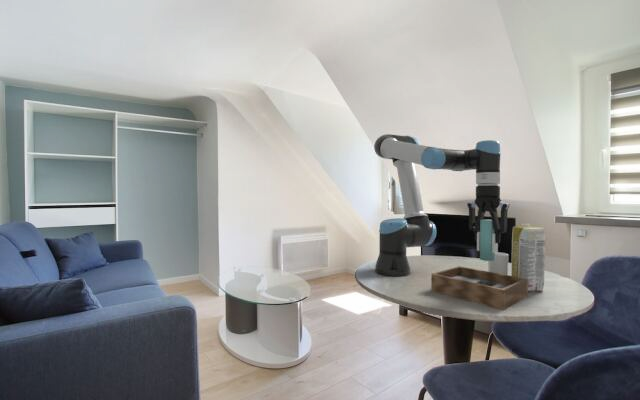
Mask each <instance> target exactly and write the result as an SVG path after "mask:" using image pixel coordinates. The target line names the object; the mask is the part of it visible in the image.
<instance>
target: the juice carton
mask: <svg viewBox="0 0 640 400" xmlns="http://www.w3.org/2000/svg"><path fill="white" fill-rule="evenodd" d="M545 230H546V229H545V228H544V227H539V226H531V224H530V223H521V226H513V227H512V235H511V236H512V237H511V268H510V269H511V271H510V273H511V275H510V276H514V277H519V278H524V279H528V292H543V291H544V286H545V270H546V269H545V266H546V265H545V261H546V231H545Z"/></svg>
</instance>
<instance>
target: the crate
mask: <svg viewBox="0 0 640 400" xmlns="http://www.w3.org/2000/svg"><path fill="white" fill-rule="evenodd" d="M430 285H431V286H430V289H431V292H435V293H439V294H441V295H442V294H443V295H447V296H451V297H454V298H459V299H461V300H465V301H468V302H473V303H477V304H480V305H484V306H487V307H490V308H495V309H498V310H502V311H504V310H506V309H508V308H510V307H512V306H513V304H514V305H515V304H517V303H520V302H521V301H523V300H524V299H526V298H528V295H529V293H528V292H529V291H528V279H524V278H519V277H514V276H511V275H509V274H508V275H503V274H498V273H493V272H488V271H486V270H482V269H476V268H471V267H465V266H462V265H461V266H460V265H459V266H455V267H452V268H451V267H450V268H448V269H444V270H441V271H437V272H433V273H431V284H430Z"/></svg>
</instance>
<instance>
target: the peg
mask: <svg viewBox="0 0 640 400" xmlns="http://www.w3.org/2000/svg"><path fill="white" fill-rule="evenodd" d="M492 234H494V227H493V223H492V219H483V220H480V251H479V260H481V261H485V262H486V261H487V262H488V261H494V253H492Z"/></svg>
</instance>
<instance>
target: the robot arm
mask: <svg viewBox="0 0 640 400" xmlns="http://www.w3.org/2000/svg"><path fill="white" fill-rule="evenodd" d="M373 148H374V153H375V154H376V155H377V156H378V157H379V158H382V159H387V160H392V165H393V166H394V167H395V168H396V170H397V176H398V182H399V187H400V194H401V200H402V206H403V211H404V213H403V214H404V216H403V217H402V218H401V217H400V218H397V217H396V218H388V219H385V220H382V221H381V222H380V223H379V229H378V230H379V232H378V233H379V245H378V246H379V252H378V257H377V259H376V260H377V261H376V262H375V266H374V267H375V268H374V272H375V273H377V274H379V275H384V276H389V277H390V276H391V277H402V276H403V277H404V276H405V277H406V276H409V275H410V274H411V267H410V263H409V260H408V257H407V248H417V247H420V248H421V247H426V246H430V245H432V244H433V243H434V241H435V239H436V237H437V227H436V224H435V223H434V222H433V221H431V220H429V215H428V214H426V213H425V212H424V211H425V210H424V207H423V206H424V205H423V201H422V195H421V191H420V190H421V189H420V185H419V179H418V173H417V167H416V165H421V166H423V167H424V168H426V169H429V170H446V171H447V170H448V171H452V172H464V171H471V170H475V184H476V186H475V199H474V200H473V201H472V202H467V208H468V228H469V230H470V231H472V232H474V241H475V242H476V252H477V251H478V252H480V220H484V218H485V214H486V212H489V215H490V220H492V223H493V227H494V234H492V253H497V252H499V249H498V248H499V244H501V237H502V236H501V234H503V233H507V232H508V210H509V208H510V203H507V202H506V203H505V202H503V201H502V200H501V198H500V197H501V186H500V184H501V169H500V168H501V154H502V153H501V143H500V142H499V141H498V140H493V139H492V140H491V139H489V140H487V139H486V140H481V141H477V142H476V144H475V148H473V149H466V150H463V149H462V150H461V149H449V148H441V147H440V148H439V147H435V146H429V145H423V144H420V141H419V140H418V139H417V138H415V137H413V136H410V135H399V134H398V135H397V134H391V133H390V134H389V133H388V134H383V135H380V136H378V138H377V139H376V140H375V142H374V146H373ZM476 207H477V208H478V210H477V217H476ZM499 207H500V220H499V217H498V216H499V215H498V208H499Z"/></svg>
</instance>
